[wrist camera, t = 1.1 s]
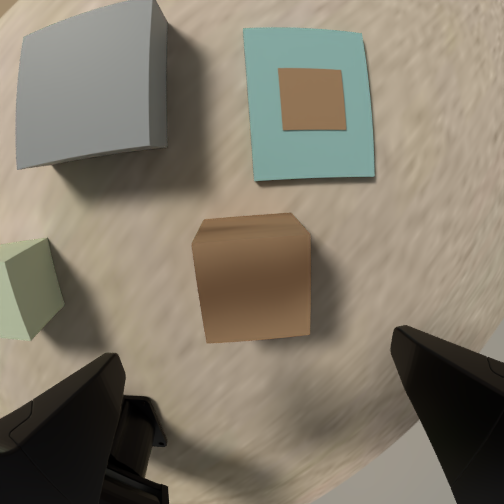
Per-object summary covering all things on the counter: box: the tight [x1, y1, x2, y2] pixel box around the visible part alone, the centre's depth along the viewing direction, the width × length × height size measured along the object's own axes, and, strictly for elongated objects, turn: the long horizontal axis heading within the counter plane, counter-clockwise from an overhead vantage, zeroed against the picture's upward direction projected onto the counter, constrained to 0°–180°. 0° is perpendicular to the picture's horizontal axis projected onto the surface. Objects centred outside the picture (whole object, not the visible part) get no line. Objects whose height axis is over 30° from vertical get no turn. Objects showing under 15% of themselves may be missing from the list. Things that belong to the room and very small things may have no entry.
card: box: [243, 28, 374, 181], centre depth 15 cm, size 9×7×1 cm
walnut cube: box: [192, 213, 311, 343], centre depth 16 cm, size 5×5×5 cm
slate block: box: [16, 0, 168, 170], centre depth 13 cm, size 8×8×4 cm
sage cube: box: [0, 238, 65, 341], centre depth 16 cm, size 5×5×5 cm
